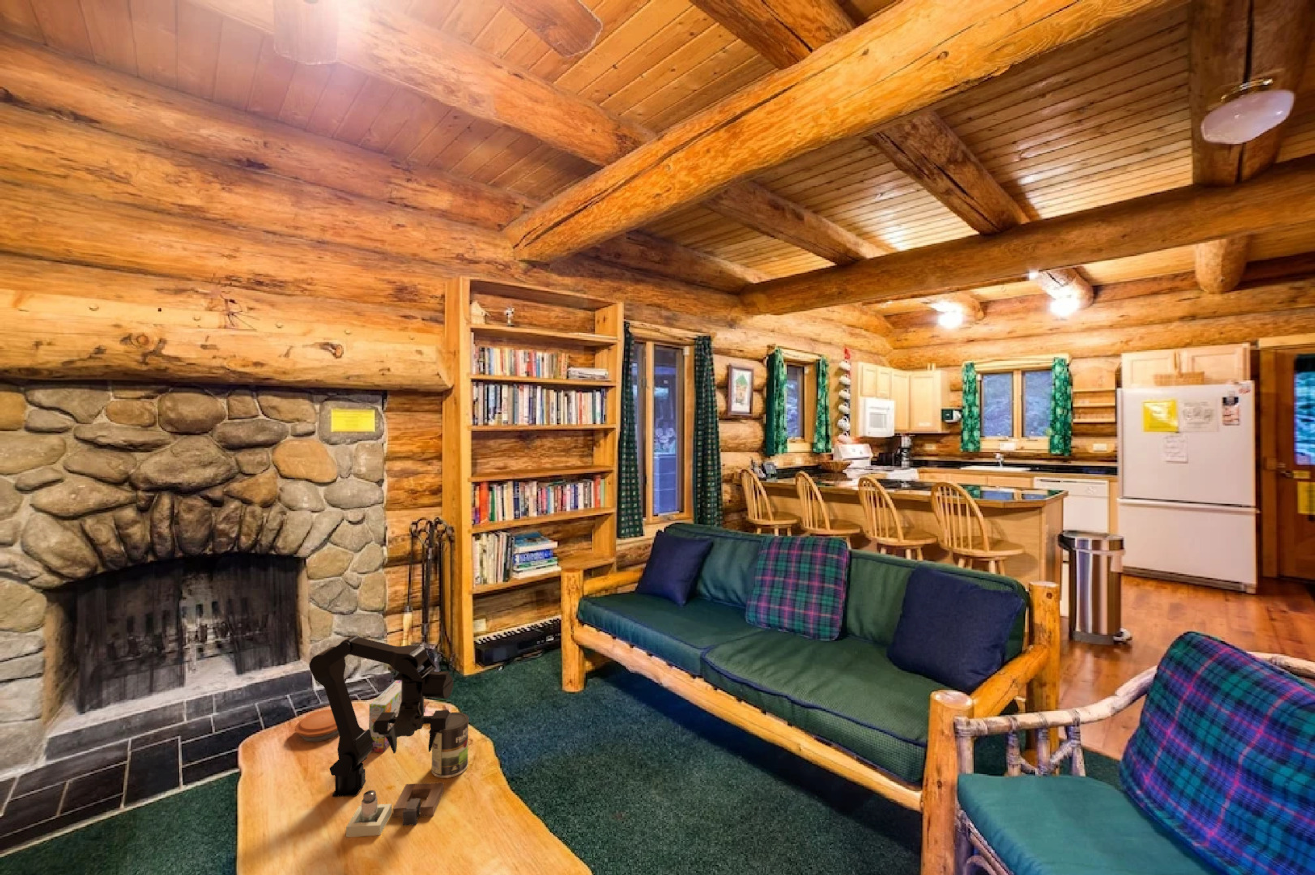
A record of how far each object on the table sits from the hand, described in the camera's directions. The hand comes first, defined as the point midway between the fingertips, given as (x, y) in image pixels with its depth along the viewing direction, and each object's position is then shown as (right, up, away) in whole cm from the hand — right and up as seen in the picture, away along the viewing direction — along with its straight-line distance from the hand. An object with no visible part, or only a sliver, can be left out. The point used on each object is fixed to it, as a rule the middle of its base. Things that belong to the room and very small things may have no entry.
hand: (412, 751), depth 156 cm
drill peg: (-6, -12, -11) cm, 18 cm away
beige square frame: (-6, -12, -11) cm, 18 cm away
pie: (-43, -11, +31) cm, 54 cm away
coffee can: (+6, -12, +13) cm, 18 cm away
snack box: (-19, -11, +30) cm, 38 cm away
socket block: (+3, -12, -3) cm, 13 cm away
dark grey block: (+4, -12, -9) cm, 16 cm away
